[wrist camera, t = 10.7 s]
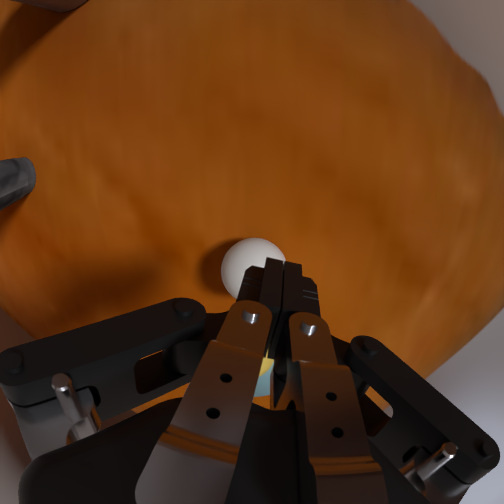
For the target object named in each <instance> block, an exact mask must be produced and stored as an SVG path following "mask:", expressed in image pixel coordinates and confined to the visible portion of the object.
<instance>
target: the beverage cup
mask: <svg viewBox="0 0 504 504" xmlns="http://www.w3.org/2000/svg"><path fill="white" fill-rule="evenodd" d="M35 181H36V174H35V169H34V166H33V164H32V162H31V161H30V160H29V159H28V158H24V157H23V158H13V159H7V160H1V161H0V211H1V210H2V209H4V208H6V207H7V206H9V205H11V204H12V203H14V202H16V201H17V200H19V199H21V198H22V197H23V196H25V195H26V194H28V193H30V192H31V191H32V190H33V188H34V186H35Z"/></svg>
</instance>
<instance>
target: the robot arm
mask: <svg viewBox="0 0 504 504" xmlns="http://www.w3.org/2000/svg"><path fill="white" fill-rule="evenodd" d="M11 1H16V2H20V3H25V4H29V5H33V6H37V7H41V8H45V9H48V10H52V11H56V12H67V11H70V10H72V9H75V8H77V7H78V6H80V5H81V4H83V3H84V2H86V1H87V0H11ZM317 293H318V292H317V285H316V284H315V283H314V281H313V280H312V279H311V278H308V277H303V276H302V265H301V264H297V263H292V262H288V261H284V264H283V260H278V259H274V258H269V257H267V258H266V262H265V266H264V268H262V267H257V266H253V265H252V266H250V267H249V268H248V269H246V270H245V273H244V276H243V280H242V283H241V287H240V290H239V293H238V297H237V300H236V303H234V304H233V305H232V306H231V308H230V310H229V311H226V312H223V313H206V310H205V308H204V306H203V305H202V304H200V303H199V302H197V301H195V300H193V299H189V298H174V299H170V300H167V301H164V302H161V303H158V304H155V305H151V306H148V307H145V308H142V309H139V310H136V311H132V312H129V313H126V314H123V315H119V316H116V317H113V318H110V319H106V320H103V321H100V322H97V323H93V324H90V325H87V326H83V327H80V328H77V329H73V330H70V331H67V332H63V333H60V334H57V335H53V336H50V337H46V338H43V339H39V340H36V341H33V342H29V343H26V344H22V345H19V346H15V347H12V348H9V349H6V350H4V351H3V352H1V353H0V386H1V388H2V390H3V391H4V394H5V397H6V398H7V400H8V402H9V403H10V405H11V406H12V407H13V409H14V412H15V415H16V418H17V421H18V424H19V427H20V430H21V433H22V436H23V439H24V442H25V444H26V446H27V450H28V452H29V454H30V457H31V459H32V462H31V463H30V464H29V465H28V466H27V467H26V469H25V470H24V472H23V474H22V476H21V479H20V482H19V490H18V496H19V504H459V502H460V501H461V499H462V498H463V496H464V495H465V493H466V492H467V490H468V488H469V487H470V485H472V484H473V483H475V482H476V481H478V480H479V479H480V478H482V477H483V476H484V475H486V474H487V473H488V472H490V471H491V470H492V469H493V468H495V467H496V466H497V464H498V463H499V460H500V451H499V448H498V445H497V444H496V442H495V441H494V440H493V439H492V438H491V437H490V436H489V435H488V434H487V433H486V432H484V431H483V430H482V429H481V428H480V427H479V426H478V425H476V424H475V423H474V422H473V421H472V420H471V419H470V418H468V417H467V416H466V415H465V414H464V413H463V412H461V411H460V410H459V409H458V408H457V407H456V406H454V405H453V404H452V403H451V402H450V401H449V400H448V399H447V398H445V397H444V396H443V395H442V394H441V393H439V392H438V391H437V390H436V389H435V388H434V387H433V386H431V385H430V384H429V383H428V382H427V381H426V380H424V379H423V378H422V377H421V376H420V375H419V374H417V373H416V372H415V371H414V370H413V369H412V368H410V367H409V366H408V365H407V364H406V363H405V362H403V361H402V360H401V359H400V358H399V357H397V356H396V355H395V354H394V353H393V352H392V351H390V350H389V349H388V348H387V347H386V346H384V345H383V344H382V343H381V342H380V341H378V340H376V339H374V338H372V337H369V336H356V337H354V338H353V339H352V340H351V342H350V343H348V342H345V341H343V340H340V339H338V338H336V337H334V336H332V335H331V334H330V330H329V327H328V324H327V323H326V322H325V321H324V320H323V319H322V318H321V315H320V307H319V300H318V294H317ZM161 350H162V351H161ZM158 351H161V352H159V353H156V352H158ZM267 351H268V355H267V358H269V359H274V365H273V368H272V371H271V374H270V410H269V409H266V408H264V407H261V406H259V405H256V404H254V403H252V401H253V397H254V393H255V389H256V385H257V381H258V378H259V374H260V370H261V366H262V362H263V358H265V357H266V354H267ZM153 353H156V354H154V355H151V356H149V357H146V358H143V357H145V356H148V355H150V354H153ZM141 358H143V359H141ZM140 359H141V360H140ZM189 382H190V384H189V386H188V388H187V390H186V392H185V394H184V396H183V397H181V398H174V399H170V400H166V401H164V402H161V403H158V404H156V405H154V406H152V407H150V408H148V409H146V410H144V411H142V412H140V413H138V414H136V415H134V416H132V417H130V418H128V419H126V420H123V421H121V422H119V423H117V424H115V425H113V426H110V427H108V428H106V429H104V430H102V431H100V432H98V431H99V428H100V424H101V421H104V420H106V419H109V418H111V417H113V416H116V415H118V414H121V413H123V412H126V411H128V410H130V409H133V408H135V407H137V406H139V405H142V404H144V403H146V402H148V401H151V400H153V399H155V398H157V397H159V396H162V395H164V394H166V393H168V392H170V391H172V390H174V389H176V388H178V387H181V386H183V385H185V384H187V383H189ZM370 386H371V387H372V388H373V389H374V390H375V391H376V392H377V393H378V394H379V395H381V396H382V397H383V398H384V399H385V400H386V401H387V402H388V403H389V404H390V405H391V406H392V408H393V416H392V418H391V417H389V416H388V415H386V414H385V413H384V412H383V411H382V410H381V409H380V408H379V407H378V406H377V405H376V404H375V403H374V402H373V401H372V400H371V399H370V398H369V397H368V396H367V395H366V394H365V392H366V391H367V390H368V388H369V387H370Z"/></svg>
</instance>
